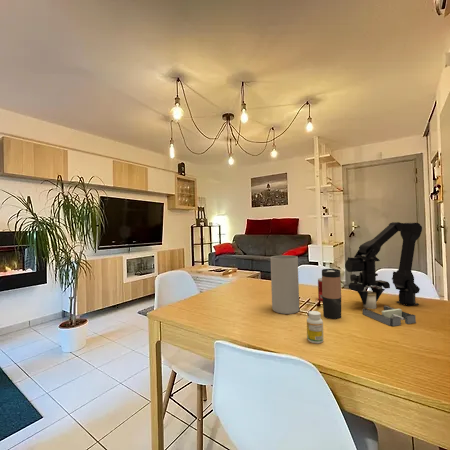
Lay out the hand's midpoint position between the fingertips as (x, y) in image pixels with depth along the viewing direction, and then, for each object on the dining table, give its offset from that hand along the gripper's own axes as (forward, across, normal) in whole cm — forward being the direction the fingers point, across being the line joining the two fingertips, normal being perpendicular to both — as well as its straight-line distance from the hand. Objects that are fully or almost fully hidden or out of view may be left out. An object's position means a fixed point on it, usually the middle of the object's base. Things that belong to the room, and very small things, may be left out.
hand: (369, 303), depth 123 cm
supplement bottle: (+2, +44, +23) cm, 50 cm away
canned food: (+2, +12, -16) cm, 20 cm away
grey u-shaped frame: (+2, +4, +14) cm, 15 cm away
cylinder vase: (+2, +39, -9) cm, 40 cm away
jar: (+2, 0, 0) cm, 2 cm away
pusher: (+1, +4, +18) cm, 19 cm away
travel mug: (+2, +24, +5) cm, 25 cm away
